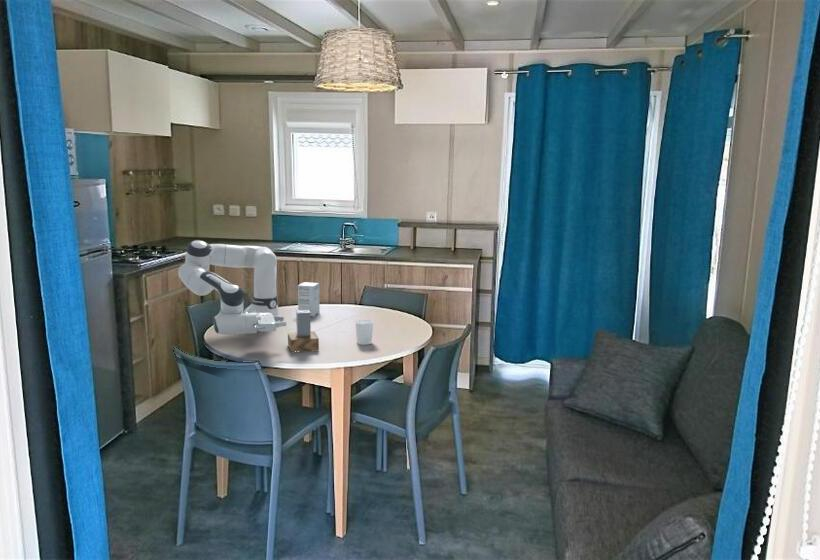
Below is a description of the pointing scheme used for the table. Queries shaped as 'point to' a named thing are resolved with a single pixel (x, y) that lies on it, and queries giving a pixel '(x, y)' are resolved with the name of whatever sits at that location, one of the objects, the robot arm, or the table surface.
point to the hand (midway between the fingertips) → (284, 321)
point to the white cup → (364, 332)
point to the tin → (303, 323)
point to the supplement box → (309, 297)
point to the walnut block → (303, 342)
